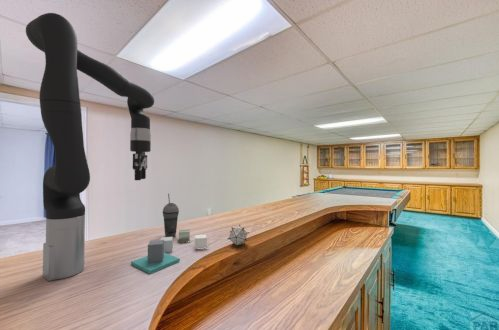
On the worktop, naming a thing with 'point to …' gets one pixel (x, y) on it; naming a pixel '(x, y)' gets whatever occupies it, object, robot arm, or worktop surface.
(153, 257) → the charcoal block
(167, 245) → the grey block
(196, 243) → the offwhite block
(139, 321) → the worktop surface
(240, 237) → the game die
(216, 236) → the worktop surface
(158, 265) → the teal mat
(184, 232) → the sage block
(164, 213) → the beverage cup
